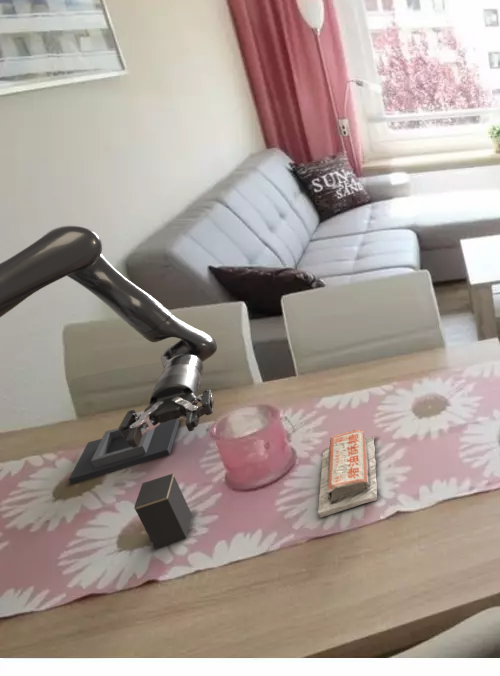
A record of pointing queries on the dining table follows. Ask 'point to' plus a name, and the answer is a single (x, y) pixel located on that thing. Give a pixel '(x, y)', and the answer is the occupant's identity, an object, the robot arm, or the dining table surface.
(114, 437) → the base pad
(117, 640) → the dining table surface
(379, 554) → the dining table surface
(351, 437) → the packaged product
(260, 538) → the dining table surface
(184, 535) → the black box
